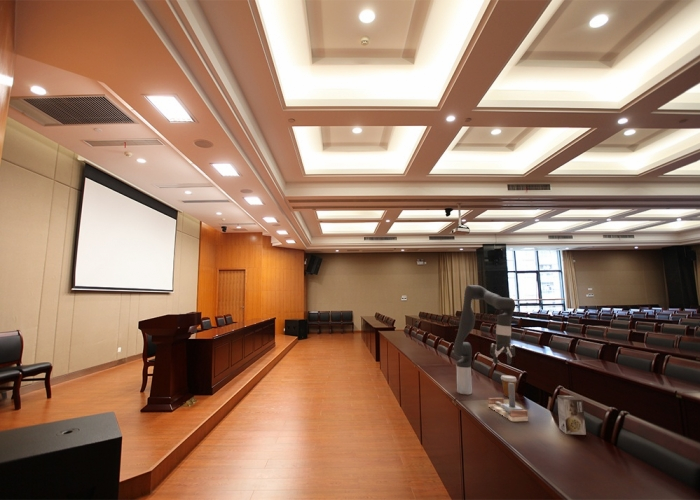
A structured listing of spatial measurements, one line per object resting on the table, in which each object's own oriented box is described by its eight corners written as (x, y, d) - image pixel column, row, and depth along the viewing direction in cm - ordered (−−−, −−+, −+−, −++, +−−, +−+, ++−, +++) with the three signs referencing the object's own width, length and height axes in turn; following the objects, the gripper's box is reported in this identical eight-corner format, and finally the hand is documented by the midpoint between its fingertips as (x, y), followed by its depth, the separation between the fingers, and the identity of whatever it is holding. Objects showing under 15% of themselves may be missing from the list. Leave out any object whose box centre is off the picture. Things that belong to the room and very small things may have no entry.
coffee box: (578, 429, 160) (575, 395, 162) (586, 435, 154) (583, 399, 156) (558, 428, 161) (556, 394, 163) (566, 434, 154) (563, 398, 157)
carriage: (502, 410, 179) (500, 381, 181) (513, 409, 180) (512, 381, 182) (511, 415, 171) (509, 385, 173) (523, 414, 172) (521, 385, 174)
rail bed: (488, 407, 190) (488, 398, 191) (502, 406, 192) (502, 397, 192) (512, 421, 169) (511, 411, 170) (527, 420, 170) (527, 410, 171)
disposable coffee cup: (498, 394, 216) (497, 375, 217) (508, 392, 220) (507, 374, 221) (510, 398, 207) (509, 379, 209) (520, 396, 211) (519, 377, 213)
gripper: (509, 333, 184) (508, 362, 182) (487, 331, 180) (486, 361, 179) (519, 335, 176) (518, 365, 175) (497, 334, 173) (495, 365, 172)
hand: (502, 363), depth 177 cm, fingers open, 8 cm apart
